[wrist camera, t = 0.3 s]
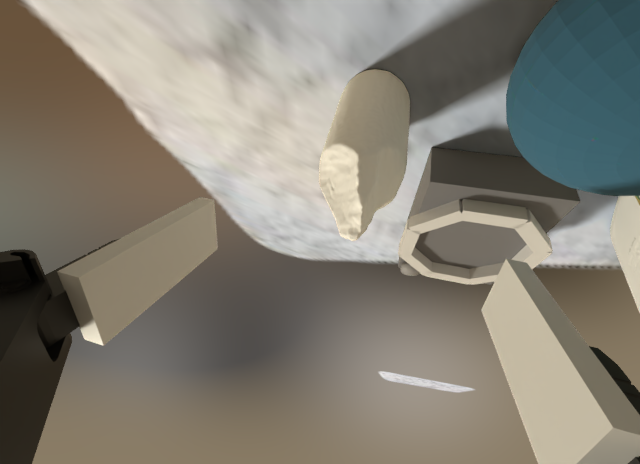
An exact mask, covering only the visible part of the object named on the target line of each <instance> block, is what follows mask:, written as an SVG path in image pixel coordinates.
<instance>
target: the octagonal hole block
mask: <svg viewBox="0 0 640 464" xmlns="http://www.w3.org/2000/svg"><path fill="white" fill-rule="evenodd" d="M578 203H580V199H579V196H578V193H577V190H576V189H574V188H570V187H568V186H565V185H563V184H561V183H559V182H556V181H554V180H552V179H551V178H549V177H547V176H545V175H543V174H542V173H540V172H539V171H538V170H537V169H535V168H534V167H533V166H532V165H531V164H530V163H529V162H528V161H527V160H526V159H525V158H523V157H514V156H505V155H496V154H487V153H478V152H469V151H460V150H451V149H442V148H433V147H432V148H431V151H430V154H429V157H428V160H427V163H426V166H425V169H424V172H423V175H422V178H421V181H420V184H419V187H418V190H417V193H416V196H415V199H414V202H413V205H412V208H411V211H410V214H409V217H408V220H407V223H406V226H405V229H404V232H403V235H402V238H401V241H400V244H399V252H398V254H399V264H398V267H400V268H401V272H402V273H403V274H405V275H409V276H415V275H418V274H419V273H421V274H422V275H426V277H432V278H437V279H443V280H447V281H453V282H458V283H463V284H470V283H471V284H472V285H473V284H480V283H485V284H490V285H491V284H492V283H493V282H494V281H495V280H496V278H497V276H498V274H499V272H500V270H501V268H502V266H503V264H504V262H505V260H506V259H511V260H516V261H521V262H526V263H527V264H528V265H529V266H530V268H531V269H533V268H534V267H536V266H537V265H538V264H539V263H541V262H542V261H543V260H544V259H545V258H547V257H548V256H549V255H550V254H552V251H553V250H552V246H551V242H550V238H549V237H548V235H547V234H546V233H547V232H548V231H549V230H550V229H552V228H553V227H554V226H555V225H556V224H557V223H558V222H559V221H560V220H561V219H562V218H563V217H564V216H566V215H567V214H568V213H569V212H570V211H571V210H572V209H573V208H574V207H575V206H576V205H577V204H578Z"/></svg>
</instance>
